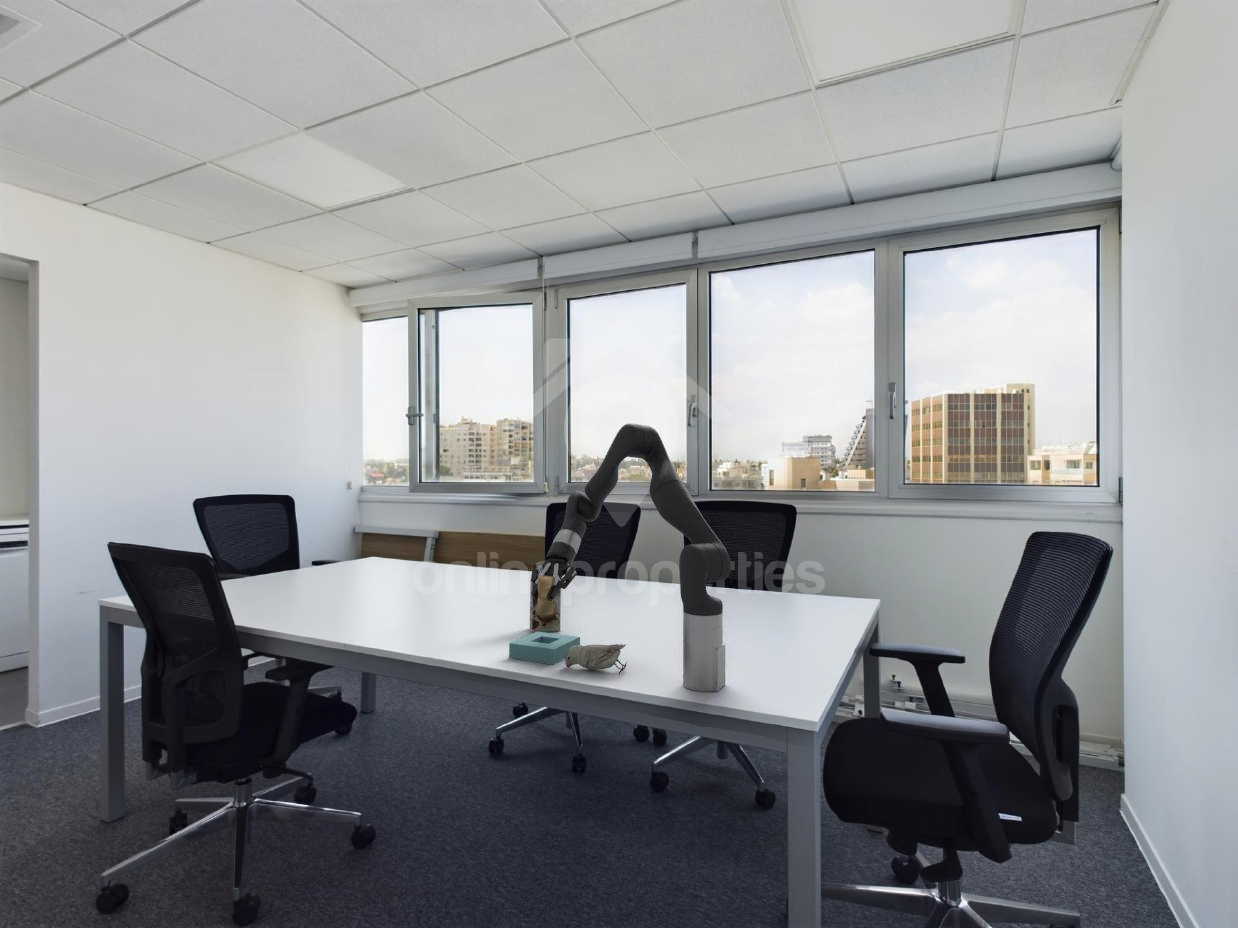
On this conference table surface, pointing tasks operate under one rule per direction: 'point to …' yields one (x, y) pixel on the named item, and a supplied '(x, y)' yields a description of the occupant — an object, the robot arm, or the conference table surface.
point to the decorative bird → (594, 656)
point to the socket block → (542, 647)
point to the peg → (544, 595)
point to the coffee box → (545, 621)
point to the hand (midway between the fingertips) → (541, 598)
